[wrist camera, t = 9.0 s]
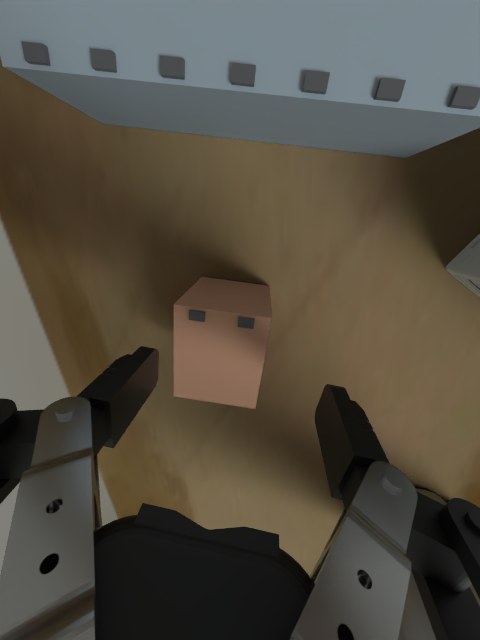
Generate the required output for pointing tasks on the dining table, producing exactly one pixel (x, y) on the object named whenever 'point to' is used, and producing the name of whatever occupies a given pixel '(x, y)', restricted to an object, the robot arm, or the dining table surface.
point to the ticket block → (259, 67)
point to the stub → (221, 341)
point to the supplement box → (468, 266)
